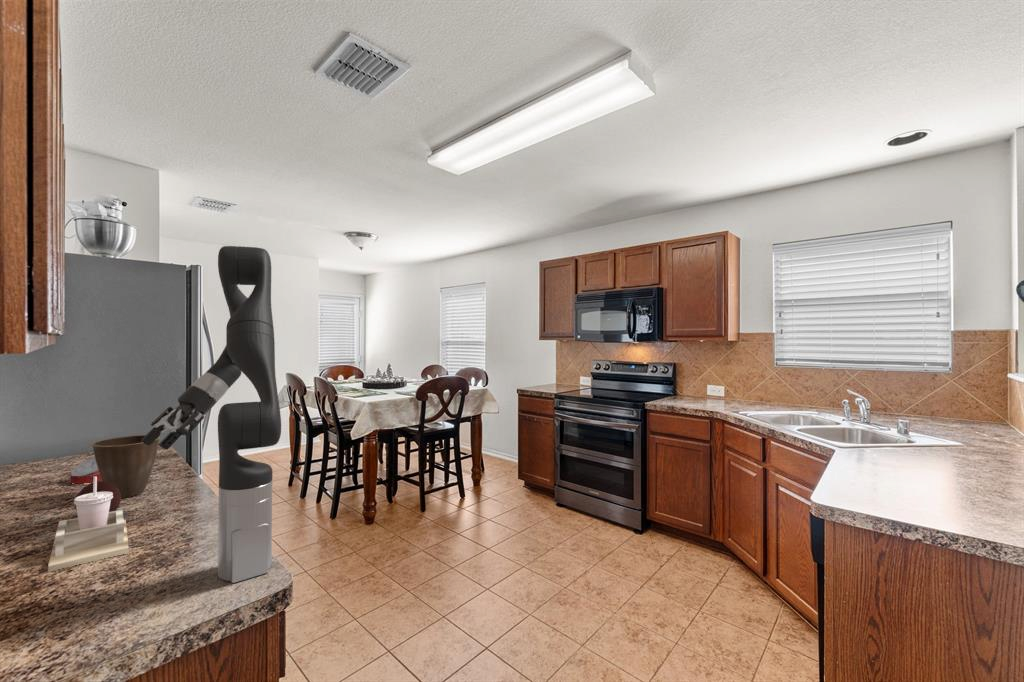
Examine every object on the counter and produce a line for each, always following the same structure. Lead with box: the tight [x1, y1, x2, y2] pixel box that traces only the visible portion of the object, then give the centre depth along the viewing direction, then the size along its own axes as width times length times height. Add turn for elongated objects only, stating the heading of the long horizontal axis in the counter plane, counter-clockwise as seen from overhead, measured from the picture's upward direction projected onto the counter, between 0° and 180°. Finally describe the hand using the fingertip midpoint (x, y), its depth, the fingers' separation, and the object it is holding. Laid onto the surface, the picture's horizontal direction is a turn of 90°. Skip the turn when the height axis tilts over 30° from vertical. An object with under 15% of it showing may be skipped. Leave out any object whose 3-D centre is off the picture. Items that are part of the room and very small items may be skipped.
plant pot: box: [92, 434, 161, 499], centre depth 132 cm, size 15×15×16 cm
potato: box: [74, 481, 122, 512], centre depth 115 cm, size 9×12×9 cm
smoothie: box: [73, 476, 113, 530], centre depth 100 cm, size 6×6×14 cm
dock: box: [47, 509, 130, 573], centre depth 99 cm, size 20×12×5 cm, turn 42°
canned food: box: [69, 455, 102, 484], centre depth 146 cm, size 11×10×10 cm
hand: (153, 445), depth 110 cm, fingers open, 8 cm apart
